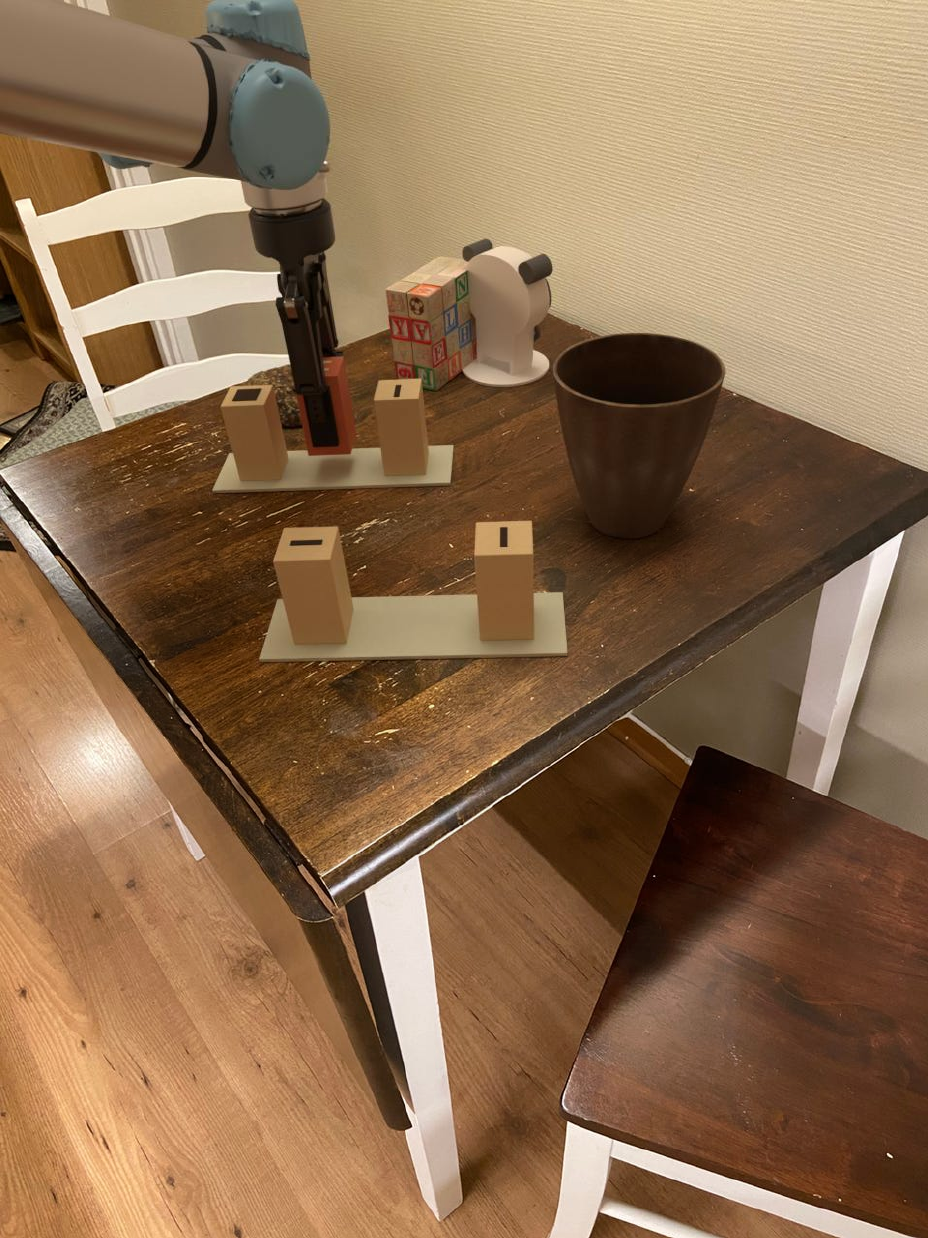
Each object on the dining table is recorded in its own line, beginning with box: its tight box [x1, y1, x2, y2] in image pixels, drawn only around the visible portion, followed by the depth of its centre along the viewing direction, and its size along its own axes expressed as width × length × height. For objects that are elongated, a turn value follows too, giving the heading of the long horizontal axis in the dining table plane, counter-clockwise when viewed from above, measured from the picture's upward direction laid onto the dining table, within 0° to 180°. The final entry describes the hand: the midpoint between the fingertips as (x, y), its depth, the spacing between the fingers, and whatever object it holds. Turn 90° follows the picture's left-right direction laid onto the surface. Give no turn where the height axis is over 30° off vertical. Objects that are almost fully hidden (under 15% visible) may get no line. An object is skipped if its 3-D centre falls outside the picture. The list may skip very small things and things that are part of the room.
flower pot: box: [552, 332, 727, 540], centre depth 83 cm, size 15×15×16 cm
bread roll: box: [239, 363, 302, 428], centre depth 109 cm, size 13×12×5 cm
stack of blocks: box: [385, 255, 477, 392], centre depth 115 cm, size 21×6×12 cm, turn 148°
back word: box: [211, 379, 455, 494], centre depth 95 cm, size 26×8×10 cm, turn 88°
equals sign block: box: [293, 355, 357, 456], centre depth 93 cm, size 5×5×9 cm
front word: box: [258, 520, 569, 663], centre depth 74 cm, size 26×8×10 cm, turn 88°
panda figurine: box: [461, 238, 554, 388], centre depth 110 cm, size 12×11×15 cm
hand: (329, 432), depth 95 cm, fingers closed on equals sign block, 5 cm apart
